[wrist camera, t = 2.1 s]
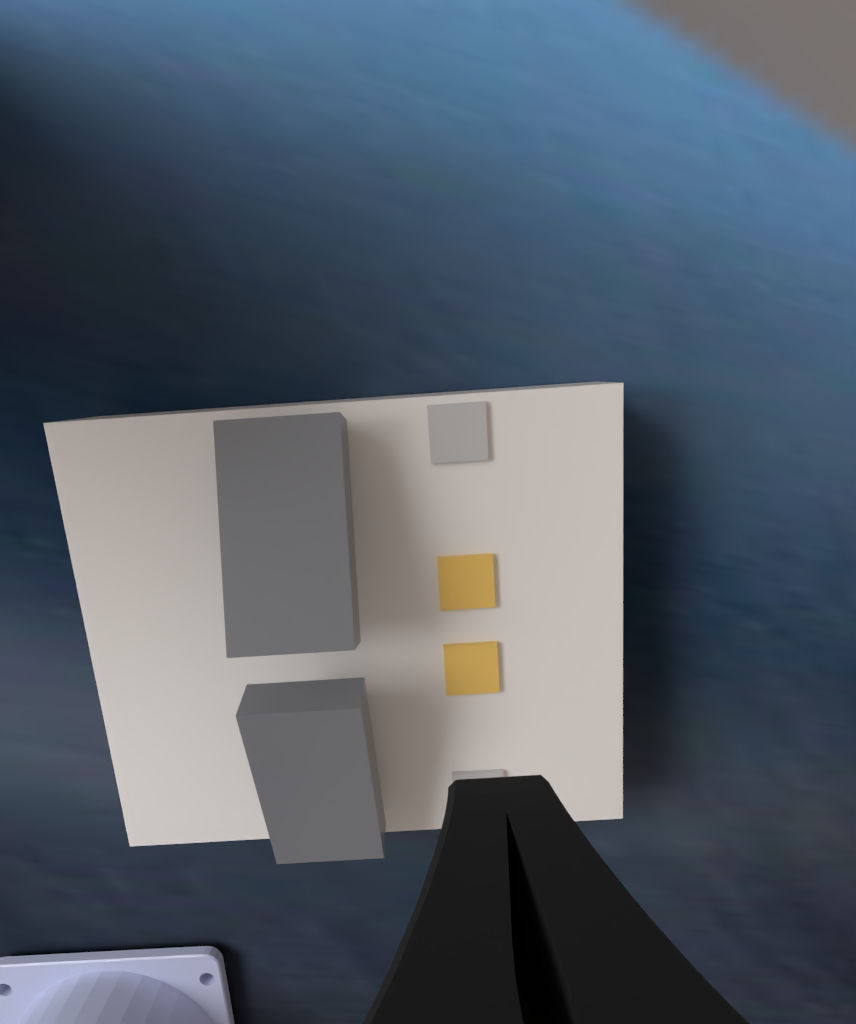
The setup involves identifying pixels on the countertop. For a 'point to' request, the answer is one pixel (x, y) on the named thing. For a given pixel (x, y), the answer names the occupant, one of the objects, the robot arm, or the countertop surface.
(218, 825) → the console
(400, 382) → the countertop surface
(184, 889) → the countertop surface
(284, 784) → the block
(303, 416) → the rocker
